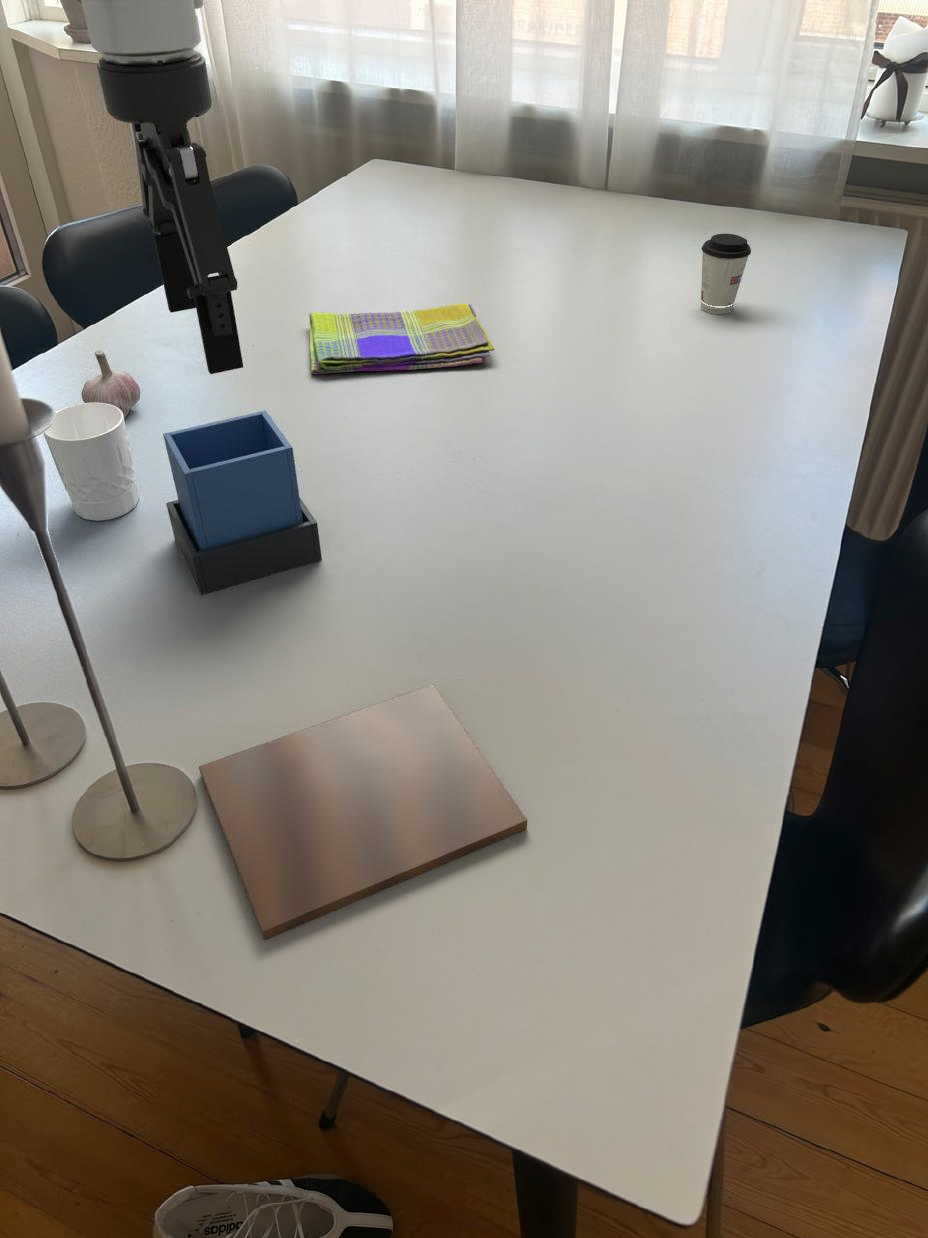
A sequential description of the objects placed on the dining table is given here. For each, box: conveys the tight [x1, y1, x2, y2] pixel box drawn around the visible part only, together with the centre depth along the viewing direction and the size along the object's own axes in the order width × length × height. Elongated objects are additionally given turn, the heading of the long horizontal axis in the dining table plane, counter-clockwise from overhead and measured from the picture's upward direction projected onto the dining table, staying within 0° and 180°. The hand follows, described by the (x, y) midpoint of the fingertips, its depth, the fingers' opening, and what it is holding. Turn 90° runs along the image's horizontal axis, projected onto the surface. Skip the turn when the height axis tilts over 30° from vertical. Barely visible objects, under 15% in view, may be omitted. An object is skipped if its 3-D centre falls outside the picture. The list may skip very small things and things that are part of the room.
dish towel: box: [308, 302, 495, 375], centre depth 133 cm, size 18×24×3 cm
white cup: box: [43, 402, 140, 522], centre depth 101 cm, size 8×8×10 cm
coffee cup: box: [700, 233, 752, 315], centre depth 140 cm, size 7×7×10 cm
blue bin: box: [162, 410, 303, 552], centre depth 93 cm, size 10×8×12 cm
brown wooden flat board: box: [198, 683, 528, 940], centre depth 72 cm, size 20×16×1 cm
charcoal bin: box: [165, 496, 323, 596], centre depth 96 cm, size 12×10×4 cm
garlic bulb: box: [81, 350, 141, 419], centre depth 117 cm, size 8×7×8 cm
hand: (204, 337), depth 82 cm, fingers open, 13 cm apart
